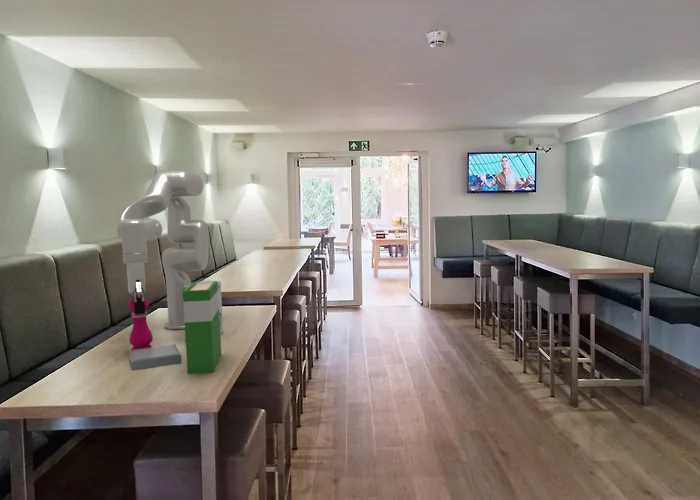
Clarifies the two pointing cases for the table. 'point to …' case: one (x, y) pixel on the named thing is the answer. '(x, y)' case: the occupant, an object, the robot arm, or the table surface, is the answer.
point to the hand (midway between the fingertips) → (139, 311)
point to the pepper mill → (140, 329)
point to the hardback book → (202, 327)
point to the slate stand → (154, 357)
